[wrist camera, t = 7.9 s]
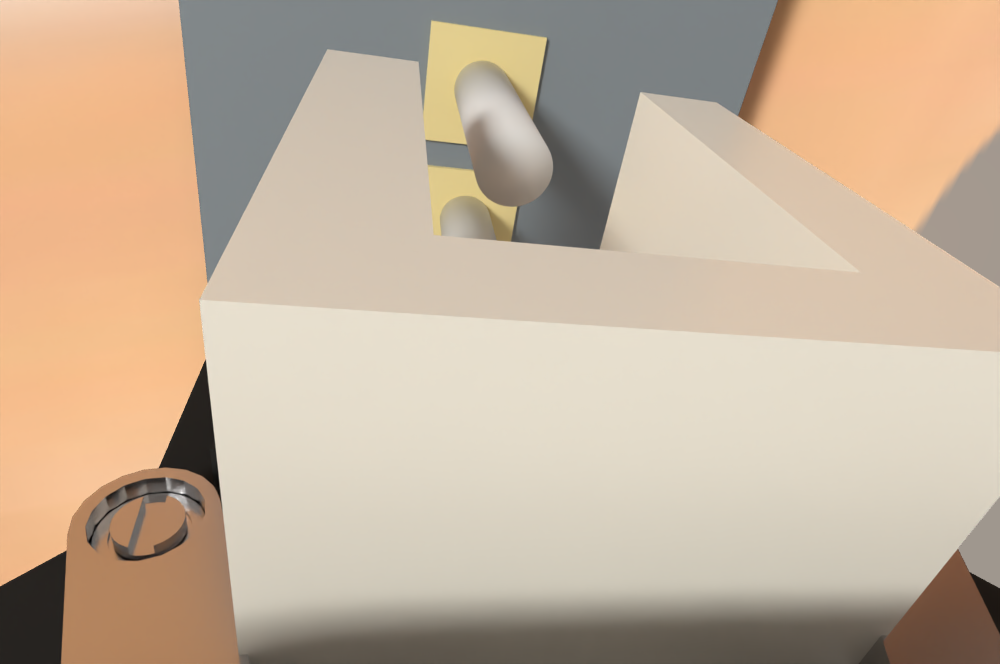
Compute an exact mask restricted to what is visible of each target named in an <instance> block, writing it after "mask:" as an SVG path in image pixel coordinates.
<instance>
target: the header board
mask: <svg viewBox="0 0 1000 664" xmlns="http://www.w3.org/2000/svg"><path fill="white" fill-rule="evenodd" d="M777 2H778V0H179V8H180V18H181V28H182V37H183V47H184V57H185V67H186V76H187V86H188V96H189V106H190V116H191V125H192V135H193V145H194V155H195V164H196V174H197V184H198V194H199V203H200V213H201V223H202V233H203V242H204V252H205V262H206V272H207V281H208V282H209V280H210V278H211V276H212V274H213V272H214V270H215V268H216V266H217V264H218V262H219V260H220V258H221V256H222V254H223V253H224V251H225V249H226V247H227V245H228V243H229V241H230V239H231V237H232V235H233V233H234V231H235V229H236V227H237V225H238V223H239V221H240V219H241V217H242V215H243V213H244V211H245V210H246V208H247V206H248V204H249V202H250V200H251V198H252V196H253V194H254V192H255V190H256V188H257V186H258V184H259V182H260V180H261V178H262V176H263V174H264V172H265V170H266V168H267V166H268V165H269V163H270V161H271V159H272V157H273V155H274V153H275V151H276V149H277V147H278V145H279V143H280V141H281V139H282V137H283V135H284V133H285V131H286V129H287V127H288V125H289V123H290V121H291V120H292V118H293V116H294V114H295V112H296V110H297V108H298V106H299V104H300V102H301V100H302V98H303V96H304V94H305V92H306V90H307V88H308V86H309V84H310V82H311V80H312V78H313V76H314V75H315V73H316V71H317V69H318V67H319V65H320V63H321V61H322V59H323V57H324V55H325V53H326V51H327V49H330V50H337V51H344V52H351V53H359V54H366V55H373V56H381V57H388V58H395V59H403V60H410V61H417V62H419V73H420V84H421V96H422V107H423V118H424V130H425V141H426V153H427V164H428V176H429V187H430V199H431V210H432V222H433V233H434V235H440V236H451V237H462V238H474V239H485V240H497V241H508V242H519V243H531V244H542V245H553V246H565V247H576V248H587V249H599V250H600V246H601V242H602V238H603V234H604V231H605V227H606V223H607V219H608V215H609V211H610V207H611V204H612V200H613V196H614V192H615V188H616V184H617V180H618V177H619V173H620V169H621V165H622V161H623V157H624V153H625V150H626V146H627V142H628V138H629V134H630V130H631V126H632V123H633V119H634V115H635V111H636V107H637V103H638V100H639V96H640V92H644V93H651V94H658V95H666V96H673V97H680V98H688V99H695V100H702V101H709V102H717V103H718V104H720V105H721V106H723V107H724V108H726V109H727V110H729V111H730V112H732V113H734V114H735V115H737V116H738V114H739V112H740V109H741V106H742V103H743V100H744V97H745V94H746V91H747V88H748V86H749V83H750V80H751V77H752V74H753V71H754V68H755V65H756V62H757V59H758V57H759V54H760V51H761V48H762V45H763V42H764V39H765V36H766V33H767V31H768V28H769V25H770V22H771V19H772V16H773V13H774V10H775V7H776V5H777Z"/></svg>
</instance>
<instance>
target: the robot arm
mask: <svg viewBox="0 0 1000 664" xmlns="http://www.w3.org/2000/svg"><path fill="white" fill-rule="evenodd" d="M0 664H250V661H249V656H248V654H242V655H239V654H238V645H237V635H236V626H235V617H234V608H233V599H232V590H231V581H230V572H229V563H228V554H227V545H226V536H225V527H224V518H223V509H222V500H221V491H220V482H219V473H218V464H217V455H216V446H215V437H214V428H213V419H212V410H211V401H210V392H209V383H208V374H207V365H206V360H205V362H204V364H203V367H202V369H201V371H200V374H199V376H198V378H197V381H196V383H195V385H194V388H193V390H192V392H191V395H190V397H189V399H188V402H187V404H186V406H185V409H184V411H183V413H182V415H181V418H180V420H179V422H178V425H177V427H176V429H175V432H174V434H173V436H172V439H171V441H170V443H169V446H168V448H167V450H166V453H165V455H164V457H163V460H162V462H161V464H160V466H159V468H157V469H147V470H142V471H138V472H135V473H131V474H128V475H125V476H122V477H120V478H118V479H116V480H114V481H112V482H110V483H108V484H106V485H104V486H102V487H101V488H99V489H98V490H97V491H96V492H94V493H93V494H92V495H91V496H90V497H88V498H87V499H86V500H85V501H84V502H83V503H82V505H81V506H80V507H79V509H78V510H77V511H76V513H75V514H74V516H73V517H72V520H71V524H70V527H69V531H68V534H67V551H65V552H63V553H61V554H59V555H57V556H56V557H54V558H52V559H50V560H48V561H46V562H45V563H43V564H41V565H39V566H37V567H35V568H33V569H32V570H30V571H28V572H26V573H24V574H22V575H21V576H19V577H17V578H15V579H13V580H11V581H9V582H8V583H6V584H4V585H2V586H0ZM859 664H1000V588H998V587H996V586H994V585H992V584H990V583H989V582H987V581H985V580H983V579H981V578H979V577H977V576H976V575H974V574H972V573H970V572H969V570H968V568H967V566H966V565H965V562H964V560H963V558H962V556H961V554H960V552H959V550H958V549H957V550H956V552H955V553H954V554H953V555H952V556H951V558H950V559H949V560H948V561H947V563H946V564H945V565H944V566H943V568H942V569H941V570H940V571H939V573H938V574H937V575H936V576H935V578H934V579H933V580H932V581H931V583H930V584H929V585H928V586H927V587H926V589H925V590H924V591H923V592H922V594H921V595H920V596H919V597H918V599H917V600H916V601H915V602H914V604H913V605H912V606H911V607H910V609H909V610H908V611H907V612H906V614H905V615H904V616H903V617H902V618H901V620H900V621H899V622H898V623H897V625H896V626H895V627H894V628H893V630H892V631H891V632H890V633H889V635H881V636H880V637H879V639H878V640H877V641H876V642H875V644H874V645H873V646H872V647H871V649H870V650H869V651H868V652H867V654H866V655H865V656H864V657H863V659H862V660H861V661H860V662H859Z"/></svg>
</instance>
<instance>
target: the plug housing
mask: <svg viewBox="0 0 1000 664" xmlns="http://www.w3.org/2000/svg"><path fill="white" fill-rule="evenodd" d="M199 302H200V311H201V320H202V329H203V338H204V347H205V356H206V365H207V374H208V383H209V392H210V401H211V410H212V419H213V428H214V437H215V446H216V455H217V464H218V473H219V482H220V491H221V500H222V509H223V518H224V527H225V536H226V545H227V554H228V563H229V572H230V581H231V590H232V599H233V608H234V617H235V626H236V635H237V645H238V654H239V655H242V654H248V656H249V661H250V664H859V662H860V661H861V660H862V659H863V657H864V656H865V655H866V654H867V652H868V651H869V650H870V649H871V647H872V646H873V645H874V644H875V642H876V641H877V640H878V639H879V637H880V636H881V635H889V633H890V632H891V631H892V630H893V628H894V627H895V626H896V625H897V623H898V622H899V621H900V620H901V618H902V617H903V616H904V615H905V614H906V612H907V611H908V610H909V609H910V607H911V606H912V605H913V604H914V602H915V601H916V600H917V599H918V597H919V596H920V595H921V594H922V592H923V591H924V590H925V589H926V587H927V586H928V585H929V584H930V583H931V581H932V580H933V579H934V578H935V576H936V575H937V574H938V573H939V571H940V570H941V569H942V568H943V566H944V565H945V564H946V563H947V561H948V560H949V559H950V558H951V556H952V555H953V554H954V553H955V552H956V550H957V549H958V548H959V547H960V545H961V544H962V543H963V542H964V540H965V539H966V538H967V537H968V535H969V534H970V533H971V532H972V530H973V529H974V528H975V527H976V525H977V524H978V523H979V522H980V521H981V519H982V518H983V517H984V516H985V514H986V513H987V512H988V511H989V509H990V508H991V507H992V506H993V504H994V503H995V502H996V501H997V499H998V498H999V497H1000V287H999V286H997V285H996V284H994V283H993V282H991V281H990V280H988V279H987V278H985V277H983V276H982V275H980V274H979V273H977V272H976V271H974V270H973V269H971V268H970V267H968V266H967V265H965V264H963V263H962V262H960V261H959V260H957V259H956V258H954V257H953V256H951V255H950V254H948V253H947V252H945V251H944V250H942V249H940V248H939V247H937V246H936V245H934V244H933V243H931V242H930V241H928V240H927V239H925V238H924V237H922V236H921V235H919V234H918V233H916V232H914V231H913V230H911V229H910V228H908V227H907V226H905V225H904V224H902V223H901V222H899V221H898V220H896V219H895V218H893V217H891V216H890V215H888V214H887V213H885V212H884V211H882V210H881V209H879V208H878V207H876V206H875V205H873V204H872V203H870V202H868V201H867V200H865V199H864V198H862V197H861V196H859V195H858V194H856V193H855V192H853V191H852V190H850V189H849V188H847V187H845V186H844V185H842V184H841V183H839V182H838V181H836V180H835V179H833V178H832V177H830V176H829V175H827V174H826V173H824V172H822V171H821V170H819V169H818V168H816V167H815V166H813V165H812V164H810V163H809V162H807V161H806V160H804V159H803V158H801V157H799V156H798V155H796V154H795V153H793V152H792V151H790V150H789V149H787V148H786V147H784V146H783V145H781V144H780V143H778V142H776V141H775V140H773V139H772V138H770V137H769V136H767V135H766V134H764V133H763V132H761V131H760V130H758V129H757V128H755V127H753V126H752V125H750V124H749V123H747V122H746V121H744V120H743V119H741V118H740V117H738V116H737V115H735V114H734V113H732V112H730V111H729V110H727V109H726V108H724V107H723V106H721V105H720V104H718V103H717V102H709V101H702V100H695V99H688V98H680V97H673V96H666V95H658V94H651V93H644V92H640V96H639V100H638V103H637V107H636V111H635V115H634V119H633V123H632V126H631V130H630V134H629V138H628V142H627V146H626V150H625V153H624V157H623V161H622V165H621V169H620V173H619V177H618V180H617V184H616V188H615V192H614V196H613V200H612V204H611V207H610V211H609V215H608V219H607V223H606V227H605V231H604V234H603V238H602V242H601V246H600V250H599V249H587V248H576V247H565V246H553V245H542V244H531V243H519V242H508V241H497V240H485V239H474V238H462V237H451V236H440V235H434V233H433V222H432V210H431V199H430V187H429V176H428V164H427V153H426V141H425V130H424V118H423V107H422V96H421V84H420V73H419V62H417V61H410V60H403V59H395V58H388V57H381V56H373V55H366V54H359V53H351V52H344V51H337V50H330V49H327V51H326V53H325V55H324V57H323V59H322V61H321V63H320V65H319V67H318V69H317V71H316V73H315V75H314V76H313V78H312V80H311V82H310V84H309V86H308V88H307V90H306V92H305V94H304V96H303V98H302V100H301V102H300V104H299V106H298V108H297V110H296V112H295V114H294V116H293V118H292V120H291V121H290V123H289V125H288V127H287V129H286V131H285V133H284V135H283V137H282V139H281V141H280V143H279V145H278V147H277V149H276V151H275V153H274V155H273V157H272V159H271V161H270V163H269V165H268V166H267V168H266V170H265V172H264V174H263V176H262V178H261V180H260V182H259V184H258V186H257V188H256V190H255V192H254V194H253V196H252V198H251V200H250V202H249V204H248V206H247V208H246V210H245V211H244V213H243V215H242V217H241V219H240V221H239V223H238V225H237V227H236V229H235V231H234V233H233V235H232V237H231V239H230V241H229V243H228V245H227V247H226V249H225V251H224V253H223V254H222V256H221V258H220V260H219V262H218V264H217V266H216V268H215V270H214V272H213V274H212V276H211V278H210V280H209V282H208V284H207V286H206V288H205V290H204V292H203V294H202V296H201V298H200V299H199Z"/></svg>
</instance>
